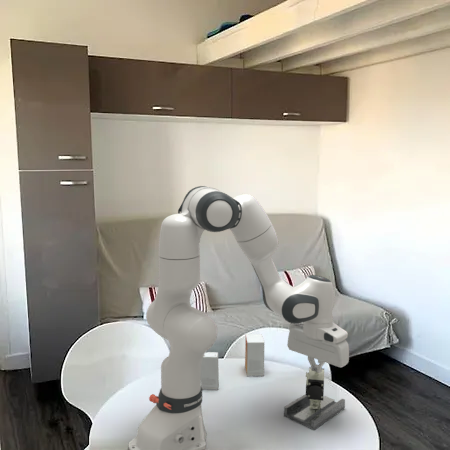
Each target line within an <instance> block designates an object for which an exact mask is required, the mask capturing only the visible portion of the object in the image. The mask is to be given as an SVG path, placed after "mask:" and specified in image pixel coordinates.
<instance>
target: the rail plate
mask: <svg viewBox="0 0 450 450" xmlns="http://www.w3.org/2000/svg"><path fill="white" fill-rule="evenodd" d="M309 407H310V399H308V396H306V393H305V394H303V395H301V396H300V397H299V398H297V399H295V400H293V401H292V402H290V403H288V404H287V405H285V406H284V407H283V417H285V418H287V419H289V420H291V421H293V422H296V423H298V424H300V425H302V426H304V427H307V428H309V429H311V430H313V431H316V430H317V429H318V428H320V427H321V426H322V425H324V424H325V423H326V422H328V421H329V420H330V419H333V418H334V417H335V416H336V415H338V414H339V413H341V412H342V411H343V410H344V408H345V407H346V399H344V398H341V399H340V400H338V401H337V402H336V401H335V399H334V398H331V397H329V396H326V395H323V401H322V400H321V409H320V410H318V409H313V408H312V409H310V408H309ZM341 410H342V411H341ZM340 411H341V412H340ZM337 413H338V414H337Z"/></svg>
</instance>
